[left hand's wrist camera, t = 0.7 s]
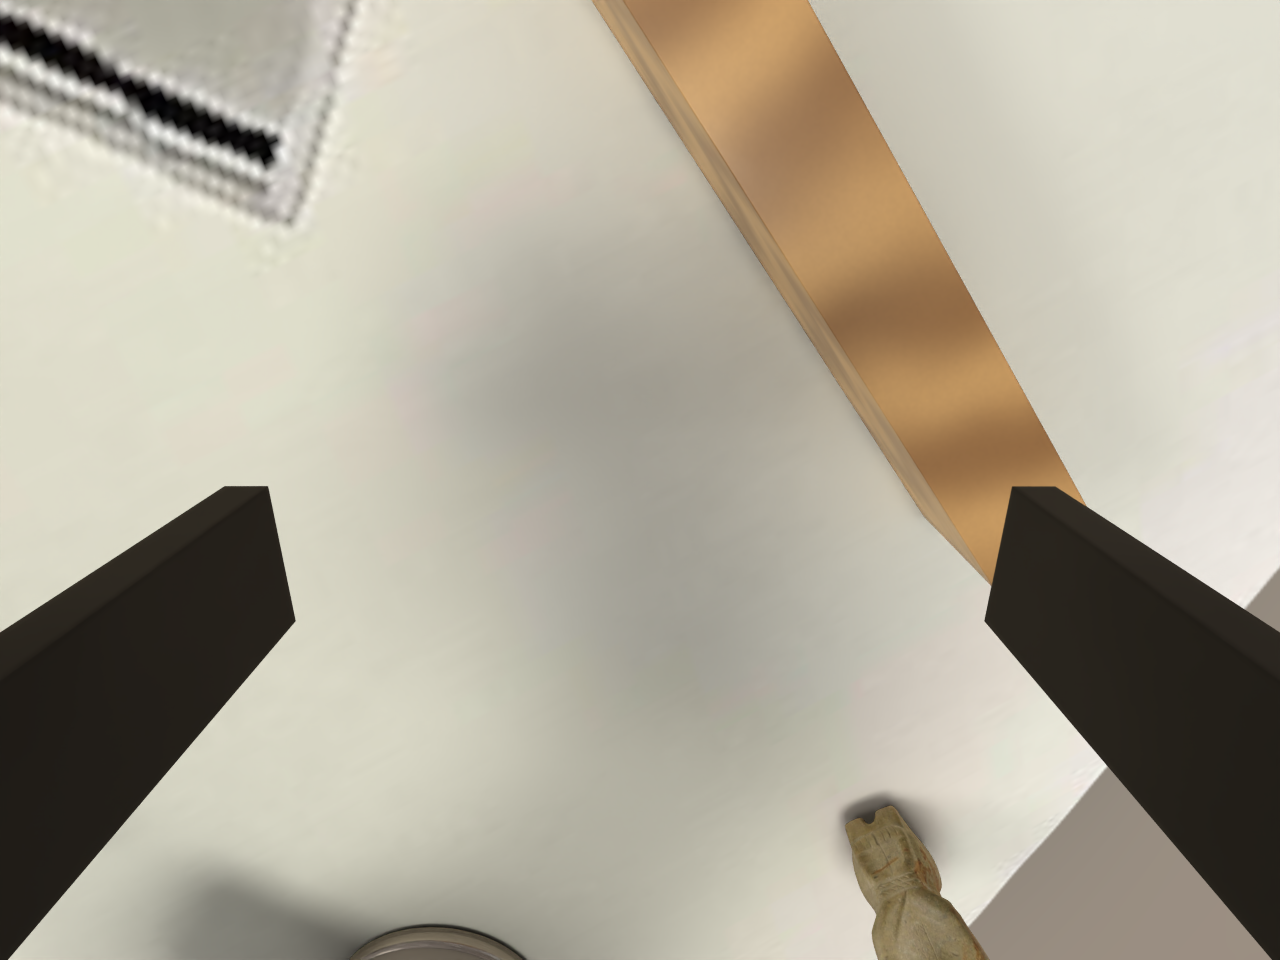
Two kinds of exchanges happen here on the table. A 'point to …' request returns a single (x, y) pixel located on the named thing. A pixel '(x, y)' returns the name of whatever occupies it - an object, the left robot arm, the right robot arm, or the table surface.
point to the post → (846, 250)
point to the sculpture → (906, 894)
